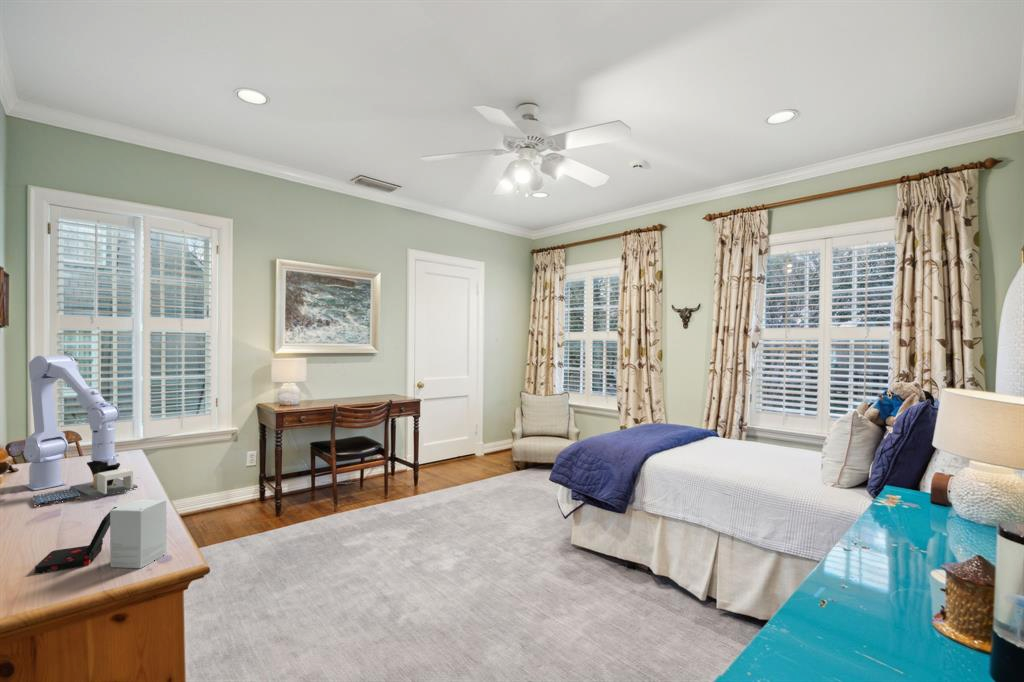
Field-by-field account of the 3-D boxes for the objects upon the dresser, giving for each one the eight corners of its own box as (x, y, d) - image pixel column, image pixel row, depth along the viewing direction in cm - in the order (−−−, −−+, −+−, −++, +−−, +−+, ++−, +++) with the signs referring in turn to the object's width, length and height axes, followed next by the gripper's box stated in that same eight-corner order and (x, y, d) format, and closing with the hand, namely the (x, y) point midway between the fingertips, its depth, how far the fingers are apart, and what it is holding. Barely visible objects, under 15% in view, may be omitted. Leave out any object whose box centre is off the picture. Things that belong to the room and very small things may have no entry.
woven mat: (76, 493, 153) (76, 487, 153) (81, 501, 146) (82, 494, 146) (30, 502, 145) (30, 495, 145) (34, 510, 138) (34, 503, 138)
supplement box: (168, 554, 109) (168, 499, 109) (139, 569, 102) (139, 511, 102) (138, 552, 110) (138, 498, 110) (108, 567, 103) (108, 509, 103)
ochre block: (93, 489, 156) (93, 474, 156) (108, 486, 159) (108, 471, 159) (98, 491, 154) (98, 476, 154) (113, 488, 157) (113, 473, 157)
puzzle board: (70, 489, 156) (70, 486, 156) (115, 480, 166) (115, 477, 166) (91, 499, 146) (91, 495, 146) (137, 488, 157) (137, 485, 157)
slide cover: (97, 490, 150) (97, 473, 150) (124, 484, 156) (125, 467, 156) (104, 494, 147) (104, 476, 147) (132, 487, 153) (132, 470, 153)
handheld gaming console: (52, 556, 108) (52, 512, 108) (119, 546, 113) (119, 505, 113) (33, 575, 100) (33, 527, 100) (107, 563, 105) (107, 518, 105)
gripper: (127, 443, 156) (127, 484, 156) (109, 438, 164) (109, 477, 164) (100, 447, 150) (100, 490, 150) (83, 441, 158) (83, 482, 158)
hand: (103, 483), depth 157 cm, fingers open, 6 cm apart
